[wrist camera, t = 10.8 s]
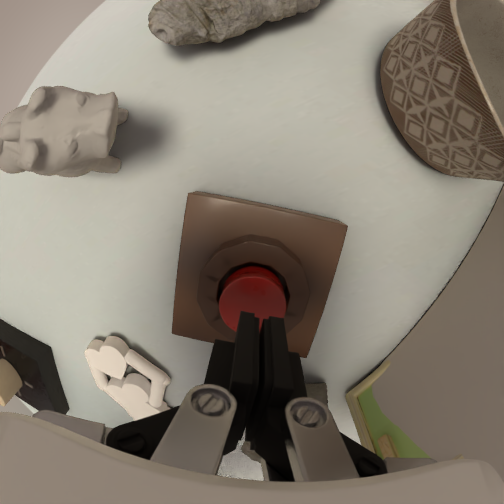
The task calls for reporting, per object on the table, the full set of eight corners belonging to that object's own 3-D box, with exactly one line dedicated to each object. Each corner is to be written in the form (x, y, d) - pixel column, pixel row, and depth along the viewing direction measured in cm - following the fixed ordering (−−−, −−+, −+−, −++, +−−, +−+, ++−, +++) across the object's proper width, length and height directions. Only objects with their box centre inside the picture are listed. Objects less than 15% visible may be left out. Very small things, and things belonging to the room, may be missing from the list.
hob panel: (50, 347, 22) (35, 362, 19) (69, 408, 25) (59, 423, 22) (-15, 309, 22) (-29, 319, 19) (4, 370, 25) (-6, 380, 22)
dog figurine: (167, 179, 18) (74, 187, 8) (39, 173, 18) (-55, 185, 7) (178, 105, 17) (101, 44, 6) (47, 114, 16) (-44, 101, 6)
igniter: (302, 342, 21) (310, 373, 17) (179, 319, 21) (164, 347, 17) (338, 220, 18) (358, 231, 15) (195, 190, 18) (179, 194, 14)
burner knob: (-4, 353, 20) (-25, 372, 15) (16, 366, 20) (-5, 388, 16) (6, 378, 21) (-12, 397, 17) (26, 391, 21) (8, 413, 17)
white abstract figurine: (138, 329, 20) (130, 345, 18) (201, 413, 25) (198, 429, 23) (72, 344, 21) (63, 357, 19) (135, 418, 25) (131, 432, 24)
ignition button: (275, 325, 17) (277, 341, 15) (218, 315, 16) (214, 329, 15) (290, 272, 16) (293, 283, 14) (228, 260, 16) (224, 270, 14)
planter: (431, 22, 13) (495, -21, 3) (501, 137, 16) (579, 137, 6) (340, 66, 15) (404, -10, 5) (432, 205, 18) (531, 234, 8)
